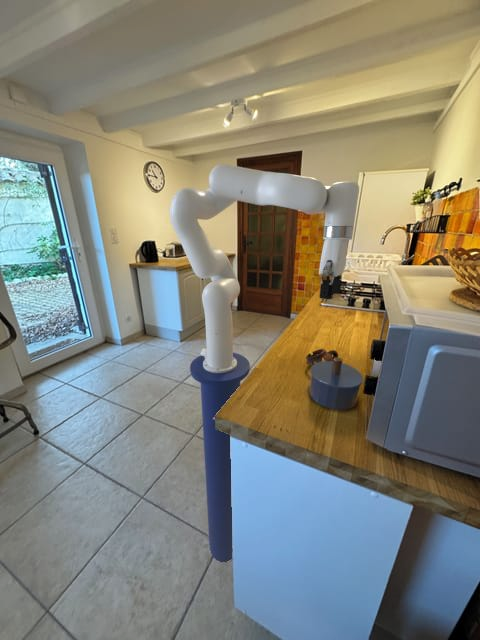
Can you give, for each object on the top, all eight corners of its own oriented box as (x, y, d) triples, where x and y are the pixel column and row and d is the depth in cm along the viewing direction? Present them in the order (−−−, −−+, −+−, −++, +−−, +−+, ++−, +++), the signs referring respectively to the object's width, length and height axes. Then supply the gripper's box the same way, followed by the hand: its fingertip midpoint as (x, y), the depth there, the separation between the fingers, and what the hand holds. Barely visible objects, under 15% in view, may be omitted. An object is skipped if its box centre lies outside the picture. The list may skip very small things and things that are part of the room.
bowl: (302, 399, 74) (305, 378, 71) (317, 378, 84) (319, 359, 82) (351, 416, 67) (355, 394, 64) (360, 391, 77) (364, 371, 75)
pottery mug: (325, 381, 83) (314, 358, 83) (307, 379, 92) (298, 358, 91) (349, 364, 88) (339, 342, 87) (330, 363, 96) (321, 344, 96)
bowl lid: (303, 380, 71) (304, 362, 69) (318, 360, 82) (320, 344, 81) (357, 397, 64) (360, 378, 62) (366, 373, 75) (369, 355, 73)
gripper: (332, 233, 78) (325, 288, 83) (313, 233, 64) (307, 299, 70) (358, 233, 74) (349, 291, 79) (345, 234, 60) (335, 303, 66)
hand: (330, 295), depth 75 cm, fingers open, 9 cm apart
